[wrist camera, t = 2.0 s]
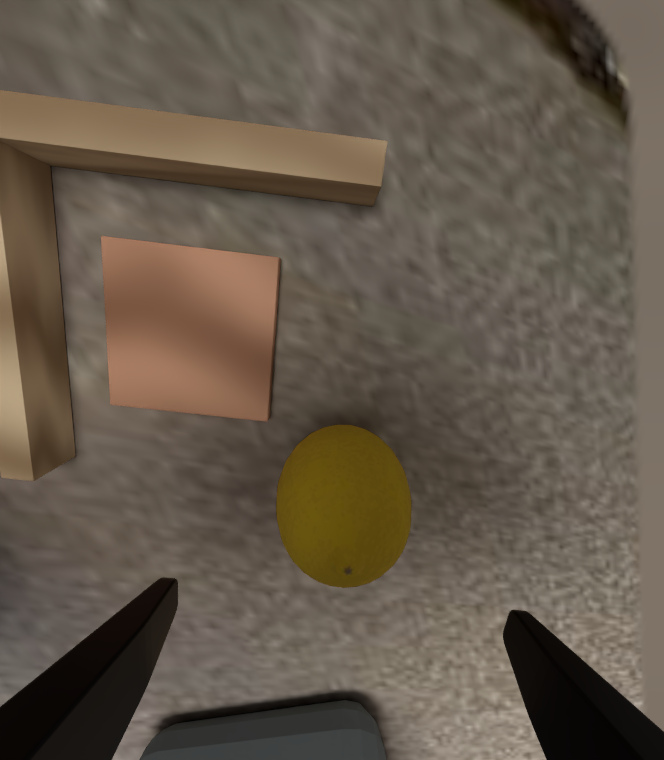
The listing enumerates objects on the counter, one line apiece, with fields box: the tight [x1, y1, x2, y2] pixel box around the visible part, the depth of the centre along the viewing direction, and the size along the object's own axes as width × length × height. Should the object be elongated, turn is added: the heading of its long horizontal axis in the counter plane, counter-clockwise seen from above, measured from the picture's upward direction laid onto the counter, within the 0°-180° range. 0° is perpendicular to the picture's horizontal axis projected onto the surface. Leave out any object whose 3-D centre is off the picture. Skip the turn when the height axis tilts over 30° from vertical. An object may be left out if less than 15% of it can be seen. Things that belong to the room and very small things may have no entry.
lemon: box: [276, 425, 411, 588], centre depth 13 cm, size 6×6×8 cm
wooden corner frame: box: [0, 90, 387, 481], centre depth 14 cm, size 16×16×2 cm
